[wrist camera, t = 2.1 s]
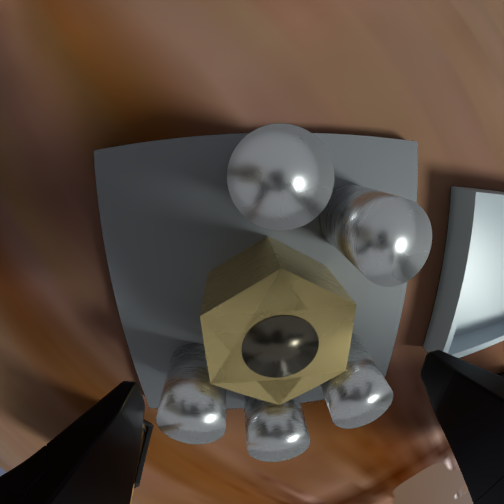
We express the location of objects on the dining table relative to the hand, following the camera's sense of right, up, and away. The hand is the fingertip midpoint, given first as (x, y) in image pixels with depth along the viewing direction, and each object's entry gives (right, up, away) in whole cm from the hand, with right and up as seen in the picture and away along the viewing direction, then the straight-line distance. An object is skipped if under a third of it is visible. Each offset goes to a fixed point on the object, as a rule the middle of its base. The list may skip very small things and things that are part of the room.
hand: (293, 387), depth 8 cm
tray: (+15, +3, +7) cm, 16 cm away
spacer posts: (0, +2, +6) cm, 6 cm away
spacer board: (0, +2, +6) cm, 6 cm away
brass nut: (0, +2, +5) cm, 6 cm away
